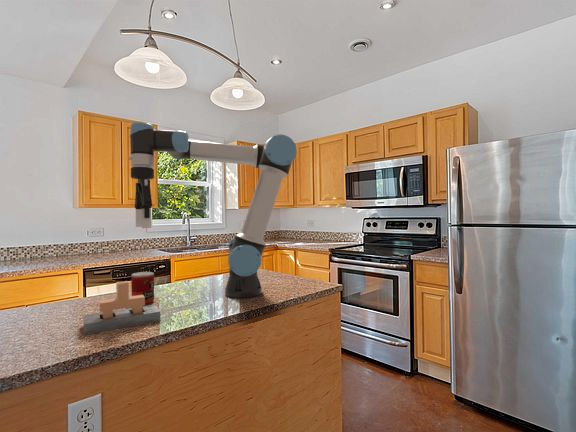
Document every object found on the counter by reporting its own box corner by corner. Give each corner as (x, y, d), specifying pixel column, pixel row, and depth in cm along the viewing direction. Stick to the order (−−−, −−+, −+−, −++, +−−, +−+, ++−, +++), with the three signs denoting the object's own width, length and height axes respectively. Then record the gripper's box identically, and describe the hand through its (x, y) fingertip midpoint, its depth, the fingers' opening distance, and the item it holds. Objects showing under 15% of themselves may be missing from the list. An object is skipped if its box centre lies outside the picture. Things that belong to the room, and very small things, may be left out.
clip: (143, 317, 101) (142, 279, 100) (145, 320, 98) (144, 281, 98) (99, 325, 94) (99, 284, 94) (100, 329, 91) (99, 286, 91)
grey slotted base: (154, 313, 105) (154, 304, 105) (160, 320, 98) (160, 311, 98) (83, 325, 94) (83, 315, 94) (84, 335, 86) (84, 324, 86)
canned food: (145, 306, 114) (145, 275, 114) (126, 304, 115) (126, 275, 115) (158, 300, 121) (158, 272, 121) (140, 299, 123) (140, 271, 123)
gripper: (126, 170, 119) (126, 226, 119) (136, 161, 98) (136, 229, 98) (147, 172, 123) (147, 226, 123) (161, 163, 102) (161, 228, 103)
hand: (143, 227), depth 111 cm, fingers open, 13 cm apart
